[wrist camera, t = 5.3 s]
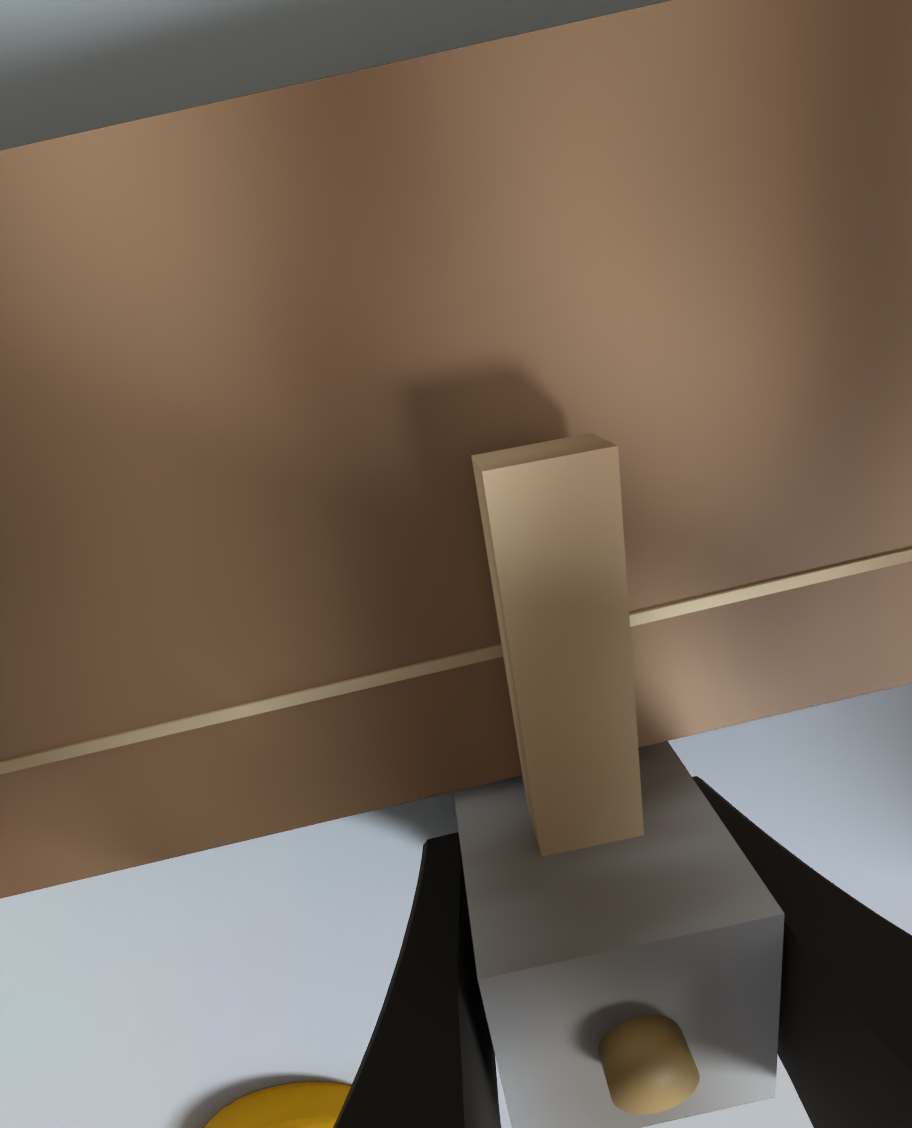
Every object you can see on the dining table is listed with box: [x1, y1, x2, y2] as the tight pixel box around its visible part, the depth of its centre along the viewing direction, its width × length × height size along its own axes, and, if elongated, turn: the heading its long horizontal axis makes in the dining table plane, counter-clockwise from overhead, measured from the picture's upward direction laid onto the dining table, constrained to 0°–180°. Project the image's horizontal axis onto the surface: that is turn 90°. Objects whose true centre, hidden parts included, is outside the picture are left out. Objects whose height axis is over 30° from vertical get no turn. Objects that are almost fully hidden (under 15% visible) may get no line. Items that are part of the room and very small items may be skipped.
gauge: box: [453, 433, 784, 1128], centre depth 9 cm, size 4×10×6 cm, turn 9°
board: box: [0, 0, 912, 898], centre depth 9 cm, size 24×10×2 cm, turn 102°
